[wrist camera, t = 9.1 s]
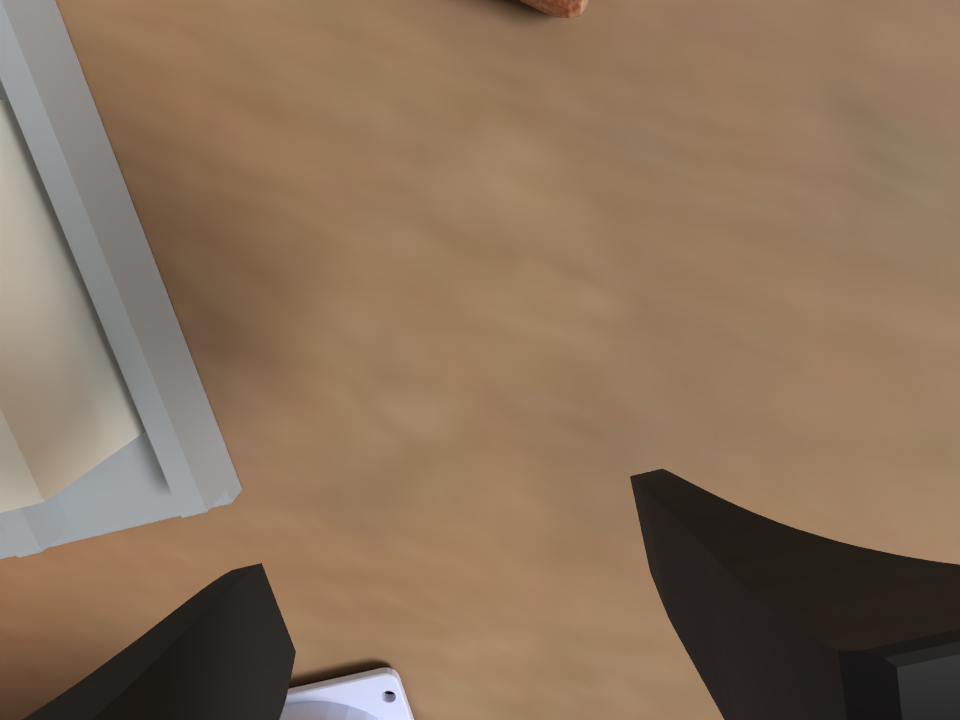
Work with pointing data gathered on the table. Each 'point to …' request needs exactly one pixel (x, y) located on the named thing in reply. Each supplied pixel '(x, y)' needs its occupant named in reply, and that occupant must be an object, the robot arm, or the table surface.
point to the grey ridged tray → (108, 306)
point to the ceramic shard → (559, 7)
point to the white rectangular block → (49, 345)
